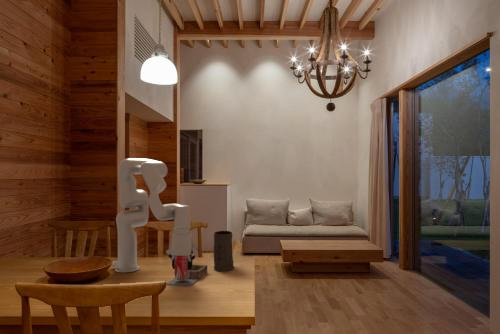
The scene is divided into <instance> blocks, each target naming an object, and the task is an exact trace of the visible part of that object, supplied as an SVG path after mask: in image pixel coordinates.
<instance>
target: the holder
mask: <svg viewBox="0 0 500 334" xmlns="http://www.w3.org/2000/svg"><path fill="white" fill-rule="evenodd" d="M207 274H208V265H207V264H194V263H192V268H191V269H190V276H189V278H188V279H198V281H199V280H201V279H202V278H203V277H204V276H206V275H207Z"/></svg>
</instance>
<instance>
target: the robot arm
mask: <svg viewBox="0 0 500 334" xmlns="http://www.w3.org/2000/svg"><path fill="white" fill-rule="evenodd" d="M117 175H118V179H119V180H118V181H119V196H118V197H119V206H120V207H122V208H125V209H126V210H123V211H120V212H118V213H117V215H116V217H115V221H116V222H115V223H116V229H117V260H113V261H112V263H111V266H115V268H114V272H116V273H132V272H136V271H139V270H140V268H141V267H140V265H138V263H137V260H138V244H137V243H138V239H137V238H138V237H137V232H136V231H135V230H134V228H138V227H144V226H146V224H147V223H148V221H149V215H150V214H149V213H150V212H149V209H150V210H151V212H152V214H153V216H154V218H155V219H156V220H158V221H167V220H173V228H171V232H173V233H172V234H171V235H172V236H171V240H170V247H169V248H168V249H167V250H166V251H165V253H166V255H168V257H169V258H170V260H171V267H172V270H175V256H187V258H188V260H189V261H188V270H190V269H191V268H192V264H193V260H195V259H196V257H197V256H198V255H199V252H198V250H196V248H195V247H194V240H193V235H192V233H191V207H190V205H187V204H180V203H164V204H163V203H162V201H161V200H160V196H159V194H160V193H162V192H163V191H164V190H165V189H166V188H167V183H166V181H165V179H164V178H165V177H166V176H167V175H168V167H167V165H166V164H165V162H163V161H159V160H155V159H150V158H139V157H138V158H136V157H134V158H133V157H132V158H131V157H129V158H125V159H122V160H121V161H120V162H119V165H118V167H117ZM134 175H141V176H142V178H143V180H144V182H145V184H146V185H147V187H148V189H149V191H150V193H149V195H148V192H147V191H145V190H144V189H137V180H136V178H135V176H134ZM129 208H135V209H129ZM128 209H129V210H128Z"/></svg>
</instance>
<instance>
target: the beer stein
mask: <svg viewBox="0 0 500 334" xmlns="http://www.w3.org/2000/svg"><path fill="white" fill-rule="evenodd" d="M233 256H234V255H233V232H232V231H230V230H218V231H215V232H214V233H213V264H214V266H213V269H214V271H217V272H223V273H224V272H230V271H232V270H233V269H234V268H235V267H234V258H233Z"/></svg>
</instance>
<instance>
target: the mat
mask: <svg viewBox="0 0 500 334" xmlns="http://www.w3.org/2000/svg"><path fill="white" fill-rule="evenodd" d="M198 281H199V280H198V279H187V280H177V279H176V278H175V277H174V278H173V279H171V280H169V281H168V282H167V283H166V284H167V285H166V286H174V287H175V286H177V287H187V288H188V287H189V288H191V287H192V286H193V285H194V284H195V283H197V282H198Z"/></svg>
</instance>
